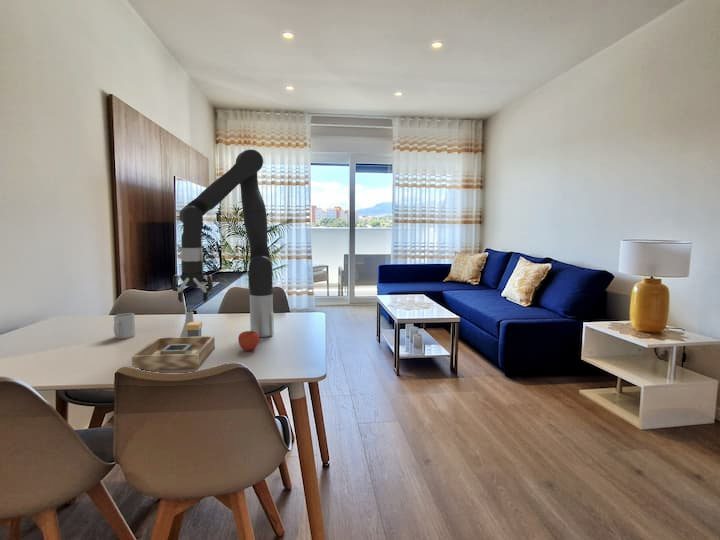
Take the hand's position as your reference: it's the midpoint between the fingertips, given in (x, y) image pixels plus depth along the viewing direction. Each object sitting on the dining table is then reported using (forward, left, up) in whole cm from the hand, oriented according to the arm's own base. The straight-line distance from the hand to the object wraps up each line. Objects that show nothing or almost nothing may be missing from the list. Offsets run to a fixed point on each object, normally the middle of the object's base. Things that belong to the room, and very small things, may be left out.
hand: (193, 301), depth 157 cm
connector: (0, 0, -16) cm, 16 cm away
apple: (-22, +10, -17) cm, 29 cm away
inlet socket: (+1, +18, -16) cm, 24 cm away
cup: (+31, -11, -17) cm, 37 cm away
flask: (+5, -11, -17) cm, 20 cm away
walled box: (+1, +18, -16) cm, 24 cm away
